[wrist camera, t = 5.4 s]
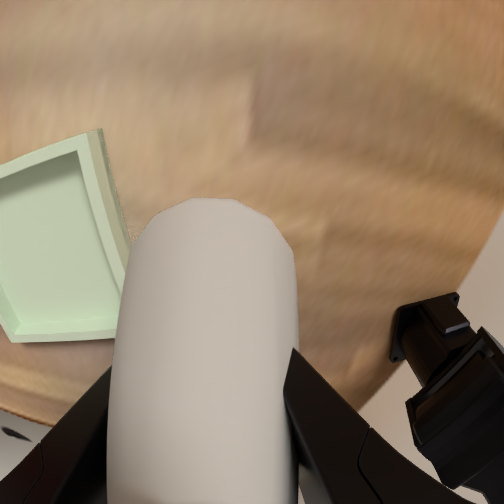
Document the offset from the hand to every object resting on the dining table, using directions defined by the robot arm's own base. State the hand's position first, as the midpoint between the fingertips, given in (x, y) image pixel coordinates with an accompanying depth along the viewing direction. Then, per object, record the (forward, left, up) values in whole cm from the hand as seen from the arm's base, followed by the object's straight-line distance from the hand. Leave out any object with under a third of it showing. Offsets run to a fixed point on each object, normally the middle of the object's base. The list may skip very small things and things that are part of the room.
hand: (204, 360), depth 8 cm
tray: (-1, +13, -13) cm, 19 cm away
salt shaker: (0, 0, -6) cm, 6 cm away
